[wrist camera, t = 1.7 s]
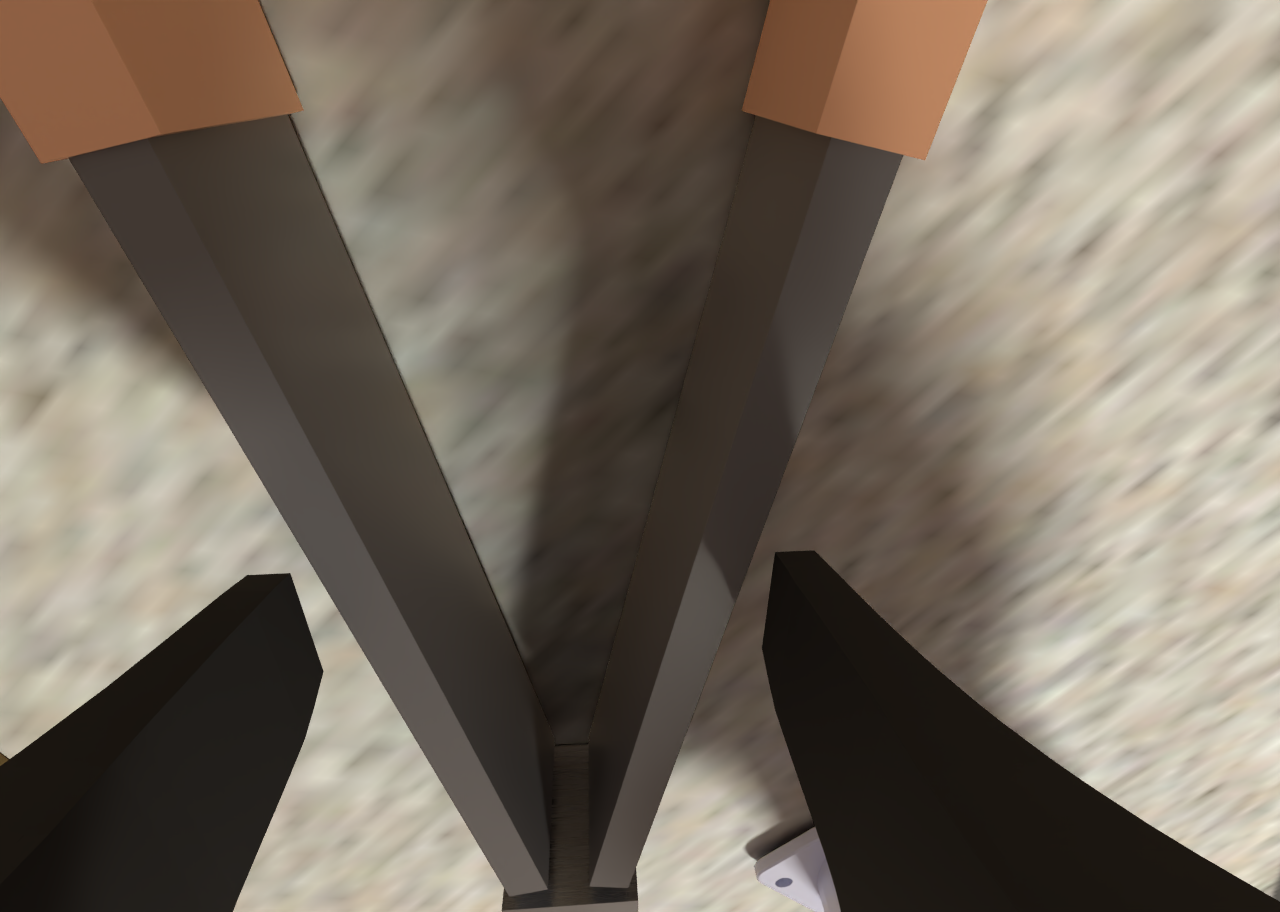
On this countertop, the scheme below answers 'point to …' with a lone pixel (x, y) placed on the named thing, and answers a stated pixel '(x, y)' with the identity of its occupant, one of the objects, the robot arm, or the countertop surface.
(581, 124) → the countertop surface
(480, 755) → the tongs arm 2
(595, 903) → the tongs hub
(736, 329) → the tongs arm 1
